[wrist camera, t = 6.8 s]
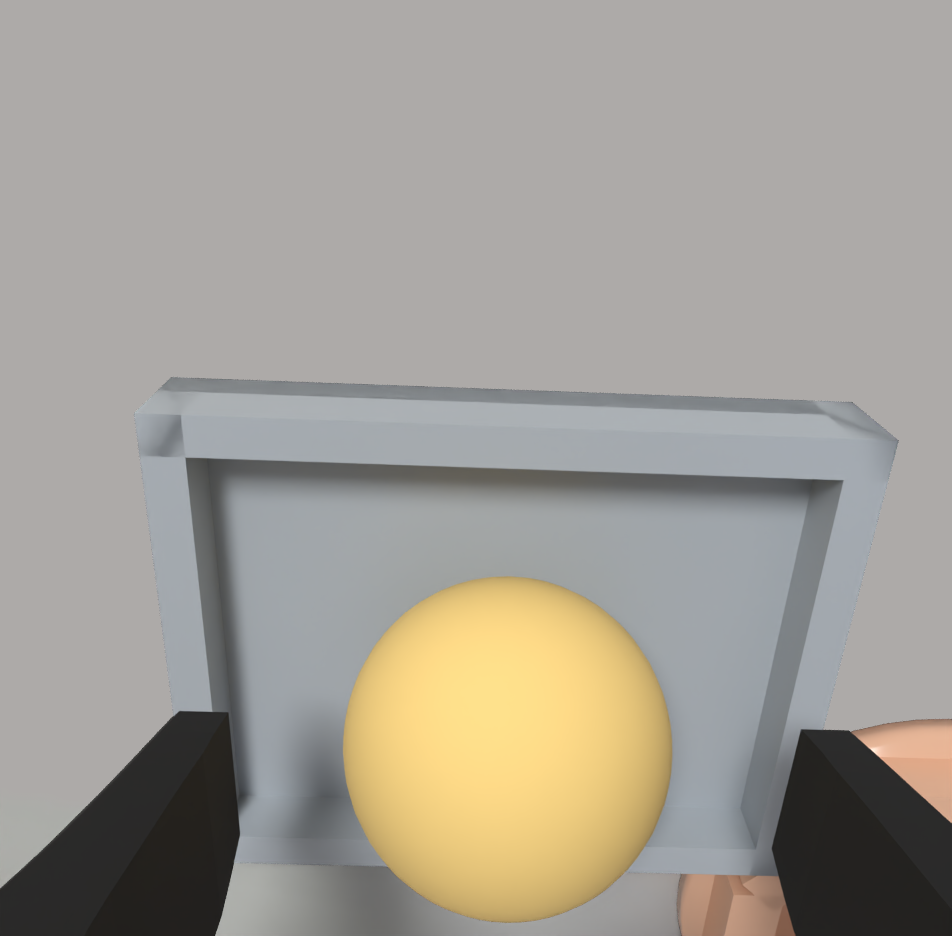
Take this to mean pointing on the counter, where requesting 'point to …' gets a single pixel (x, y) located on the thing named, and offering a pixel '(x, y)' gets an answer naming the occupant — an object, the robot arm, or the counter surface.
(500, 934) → the counter surface
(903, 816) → the robot arm
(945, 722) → the dish
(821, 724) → the tray
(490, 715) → the ball
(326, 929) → the counter surface
